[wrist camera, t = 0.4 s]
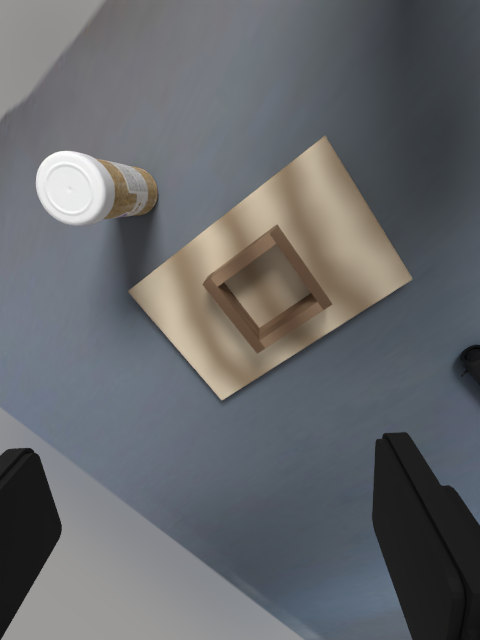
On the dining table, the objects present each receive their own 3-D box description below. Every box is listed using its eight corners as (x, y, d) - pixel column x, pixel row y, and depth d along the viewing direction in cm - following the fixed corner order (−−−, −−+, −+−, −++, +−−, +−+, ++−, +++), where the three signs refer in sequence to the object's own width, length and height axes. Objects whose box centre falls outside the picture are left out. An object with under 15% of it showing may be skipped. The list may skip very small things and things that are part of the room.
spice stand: (322, 137, 33) (332, 128, 28) (406, 275, 37) (428, 287, 32) (132, 287, 39) (115, 300, 34) (222, 393, 42) (218, 418, 38)
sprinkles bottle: (129, 223, 36) (60, 238, 24) (104, 180, 35) (18, 172, 22) (168, 202, 35) (117, 206, 23) (144, 157, 34) (77, 135, 22)
